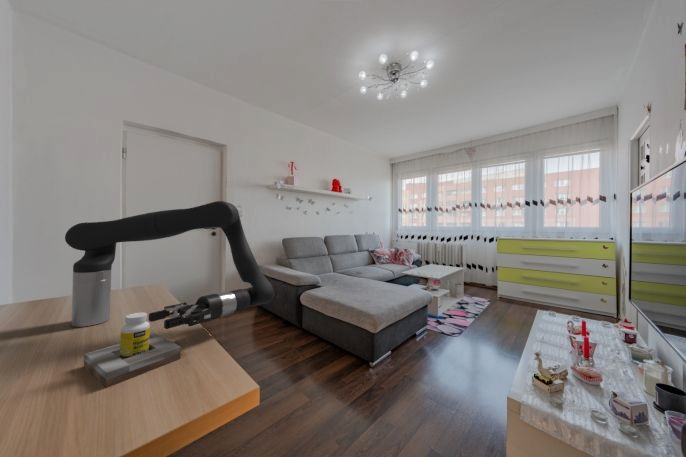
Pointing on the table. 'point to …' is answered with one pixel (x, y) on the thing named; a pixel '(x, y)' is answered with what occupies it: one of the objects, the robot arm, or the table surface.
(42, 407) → the table surface
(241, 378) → the table surface
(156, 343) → the mount block
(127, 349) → the supplement bottle
